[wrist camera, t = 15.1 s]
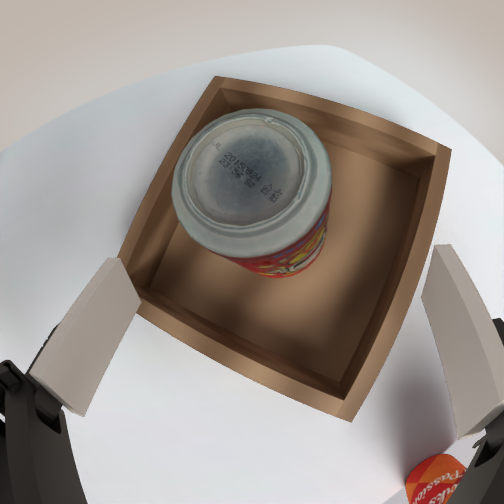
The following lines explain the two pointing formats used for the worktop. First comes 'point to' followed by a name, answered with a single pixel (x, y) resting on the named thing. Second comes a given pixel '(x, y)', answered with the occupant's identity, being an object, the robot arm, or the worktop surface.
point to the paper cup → (434, 480)
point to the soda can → (256, 191)
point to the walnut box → (317, 274)
